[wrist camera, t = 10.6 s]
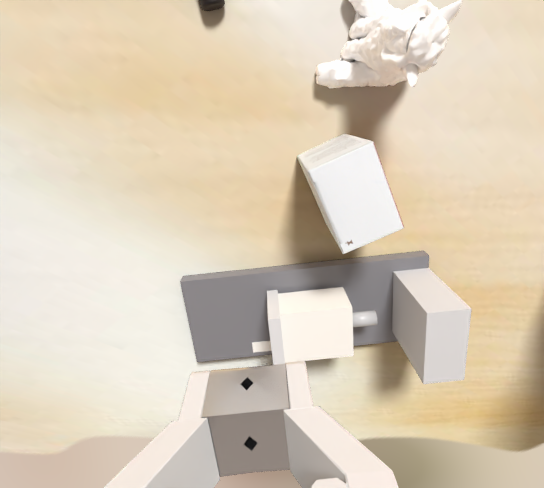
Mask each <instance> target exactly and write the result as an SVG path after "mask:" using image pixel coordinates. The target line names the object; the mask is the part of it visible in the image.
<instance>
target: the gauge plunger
mask: <svg viewBox="0 0 544 488" xmlns="http://www.w3.org/2000/svg"><path fill="white" fill-rule="evenodd" d="M267 309H268V325H269V333H270V341H271V349H272V358H273V365H276V364H285V363H289V362H296V361H309V360H319V359H328V358H338V357H348V356H354V350H353V327H362V326H372V325H377V315H376V312H375V310H372V311H362V312H353V313H352V305H351V303H350V301H349V299H348V297H347V295H346V292H345V290H344V288H343V287H337V288H327V289H317V290H308V291H298V292H289V293H279V294H278V291H277V290H270V291H267Z"/></svg>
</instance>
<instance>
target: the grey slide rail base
mask: <svg viewBox="0 0 544 488" xmlns="http://www.w3.org/2000/svg"><path fill="white" fill-rule="evenodd" d="M428 267H429V255H428V254H427V253H425V252H424V251H416V252H407V253H397V254H388V255H378V256H369V257H359V258H350V259H340V260H331V261H321V262H312V263H302V264H293V265H283V266H274V267H264V268H255V269H245V270H236V271H226V272H217V273H207V274H198V275H188V276H183V277H182V279H181V281H180V283H181V287H182V292H183V297H184V302H185V306H186V311H187V316H188V321H189V325H190V330H191V335H192V340H193V345H194V349H195V354H196V359H197V362H202V361H212V360H222V359H231V358H241V357H251V356H260V355H270V354H272V349H271V341H270V333H269V325H268V309H267V291H270V290H277V291H278V294H279V293H289V292H298V291H308V290H317V289H327V288H337V287H343V288H344V290H345V292H346V295H347V297H348V299H349V301H350V303H351V305H352V313H353V312H362V311H372V310H375V312H376V315H377V325H372V326H362V327H353V346H357V345H367V344H376V343H386V342H395V341H398V342H399V344H400V345H401V347H402V349H403V351H404V352H405V354H406V356H407V357H408V359H409V361H410V362H411V364H412V366H413V367H414V369H415V371H416V373H417V374H418V376H419V378H420V379H421V381H422V383H423V384H429V383H438V382H448V381H458V380H464V376H465V366H466V356H467V347H468V337H469V327H470V318H471V308H470V307H469V306H468V305H467V304H466V303H465V302H464V301H463V300H462V299H461V298H460V297H459V296H458V295H456V294H455V293H454V292H453V291H452V290H451V289H450V288H449V287H448V286H447V285H446V284H445V283H444V282H443V281H442V280H441V279H440V278H439V277H438V276H436V275H435V274H434V273H433V272H432V271H431V270H430V269H429V268H428Z"/></svg>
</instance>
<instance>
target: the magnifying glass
mask: <svg viewBox="0 0 544 488" xmlns="http://www.w3.org/2000/svg"><path fill="white" fill-rule="evenodd" d="M199 1H200V5H201V8H202V9H203V10H205V11H211V10H215V9H219V8H222V7H223V6H224V4H225V1H224V0H199Z"/></svg>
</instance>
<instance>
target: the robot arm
mask: <svg viewBox="0 0 544 488" xmlns="http://www.w3.org/2000/svg"><path fill="white" fill-rule="evenodd" d="M286 373H287V374H286ZM287 383H288V384H287ZM277 470H290V471H291V473H292V474H293V476H294V477H295V478H296V480H297V481H298V483H299V484H300V486H301V487H302V488H398V485H397V482H396V480H395V477H394V474H393V471H392V470H391V469H390V468H389V467H388V466H386V465H385V464H384V463H383V462H382V461H381V460H380V459H378V458H377V457H376V456H375V455H374V454H373V453H372V452H371V451H369V450H368V449H367V448H366V447H365V446H364V445H362V444H361V443H360V442H359V441H358V440H357V439H356V438H355V437H354V436H353V435H351V434H350V433H349V432H348V431H347V430H346V429H345V428H343V427H342V426H341V425H340V424H339V423H338V422H337V421H336V420H334V419H333V418H332V417H331V416H330V415H329V414H328V413H327V412H325V411H324V410H323V409H322V408H321V407H320V406H316V407H314V406H313V401H312V395H311V390H310V384H309V379H308V373H307V368H306V363H305V361H296V362H289V363H286V366H285V364H276V365H267V366H258V367H246V368H233V369H221V370H211V371H200V372H192V373H191V375H190V376H189V380H188V384H187V387H186V391H185V395H184V399H183V402H182V406H181V410H180V414H179V417H178V421H172V422H171V423H170V424H169V425H167V426H166V427H165V428H164V429H163V430H162V431H161V432H160V433H159V434H158V435H157V436H156V437H155V438H154V439H153V440H152V441H151V442H150V443H149V444H148V445H147V446H146V447H145V448H144V449H143V450H142V451H141V452H140V453H139V454H138V455H137V456H136V457H134V458H133V459H132V460H131V461H130V462H129V463H128V464H127V465H126V466H125V467H124V468H123V469H122V470H121V471H120V472H119V473H118V474H117V475H116V476H115V477H114V478H113V479H112V480H111V481H110V482H109V483H108V484H107V485H106V486H105V487H104V488H215V486H216V484H217V483H218V481H219V480H220V477H221V476H229V475H236V474H243V473H252V472H263V471H277Z"/></svg>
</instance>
